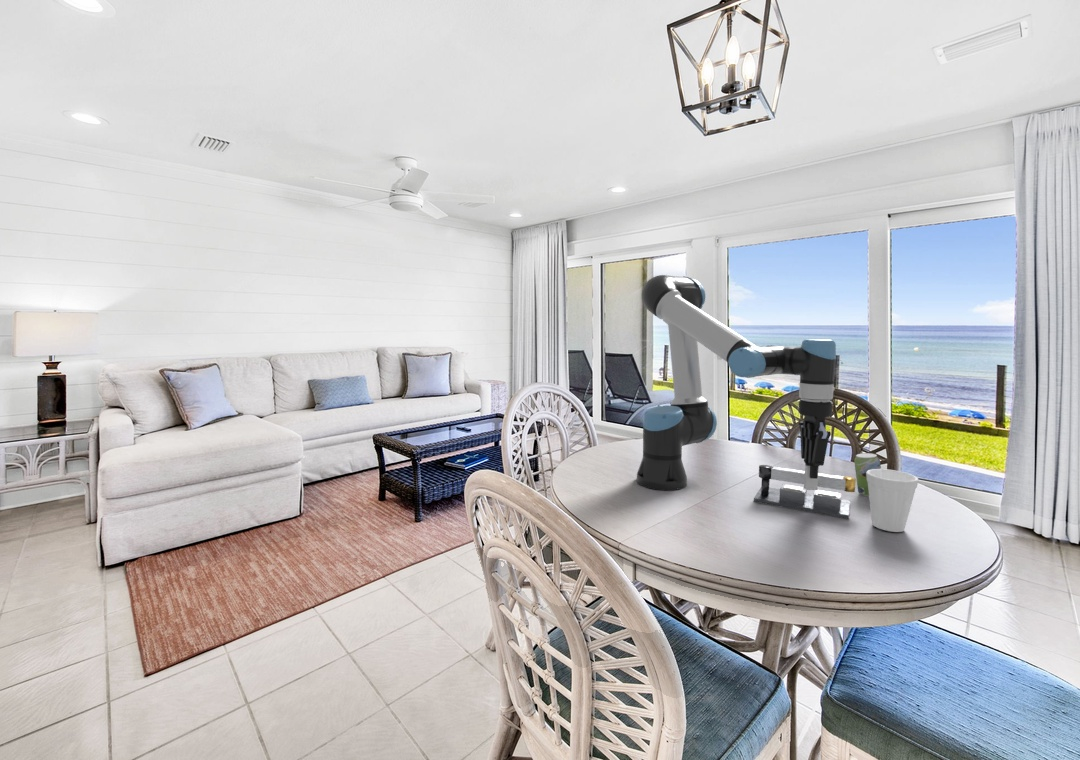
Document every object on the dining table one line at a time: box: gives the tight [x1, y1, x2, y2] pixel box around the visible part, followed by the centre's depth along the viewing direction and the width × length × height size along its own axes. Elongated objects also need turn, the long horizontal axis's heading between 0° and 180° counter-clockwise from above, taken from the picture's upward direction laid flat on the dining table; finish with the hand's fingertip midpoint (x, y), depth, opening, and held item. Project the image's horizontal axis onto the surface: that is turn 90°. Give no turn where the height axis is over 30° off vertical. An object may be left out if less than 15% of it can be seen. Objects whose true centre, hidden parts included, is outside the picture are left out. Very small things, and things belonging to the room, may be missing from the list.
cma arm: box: [758, 464, 857, 493], centre depth 128 cm, size 23×4×3 cm, turn 56°
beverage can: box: [853, 452, 882, 498], centre depth 135 cm, size 6×7×12 cm
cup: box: [866, 468, 920, 533], centre depth 113 cm, size 10×10×13 cm
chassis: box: [753, 478, 851, 520], centre depth 129 cm, size 22×12×6 cm, turn 56°
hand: (810, 488), depth 124 cm, fingers closed
